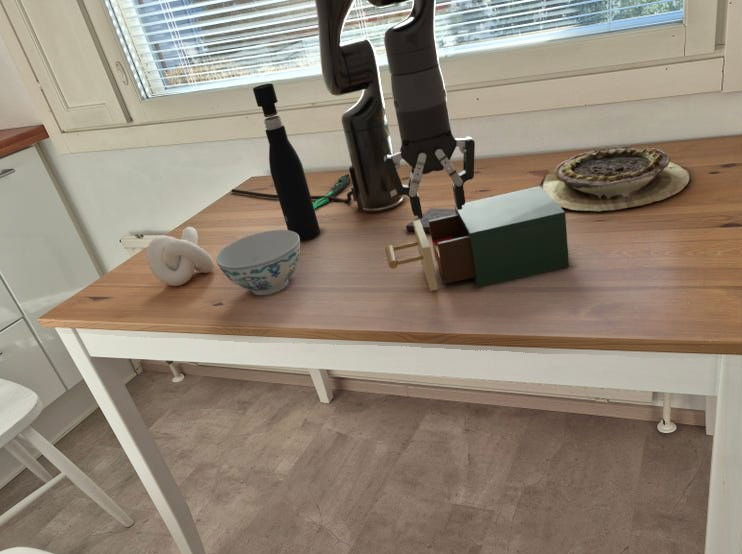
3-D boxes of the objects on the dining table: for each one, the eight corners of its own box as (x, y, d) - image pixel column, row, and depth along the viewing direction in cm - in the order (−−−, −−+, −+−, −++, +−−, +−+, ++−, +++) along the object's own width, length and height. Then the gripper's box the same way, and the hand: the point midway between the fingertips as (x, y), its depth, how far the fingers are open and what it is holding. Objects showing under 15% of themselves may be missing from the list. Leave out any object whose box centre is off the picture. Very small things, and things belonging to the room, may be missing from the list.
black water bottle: (326, 229, 142) (285, 79, 127) (310, 241, 137) (266, 88, 122) (301, 229, 145) (258, 83, 130) (284, 242, 140) (239, 92, 125)
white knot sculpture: (168, 269, 140) (151, 229, 135) (224, 258, 139) (209, 217, 135) (154, 293, 130) (136, 250, 126) (214, 281, 130) (198, 237, 125)
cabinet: (477, 287, 106) (469, 233, 101) (462, 254, 117) (454, 205, 113) (569, 266, 105) (565, 211, 101) (544, 236, 117) (539, 185, 112)
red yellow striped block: (463, 270, 107) (460, 252, 106) (442, 275, 107) (439, 257, 106) (454, 252, 114) (452, 236, 112) (434, 257, 114) (431, 240, 112)
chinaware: (273, 311, 113) (260, 269, 109) (213, 302, 121) (198, 263, 117) (327, 271, 123) (316, 231, 119) (267, 265, 131) (255, 228, 127)
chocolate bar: (430, 208, 137) (509, 212, 127) (431, 212, 138) (510, 216, 127) (405, 225, 131) (486, 231, 121) (406, 230, 132) (487, 236, 122)
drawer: (396, 298, 106) (386, 256, 102) (389, 267, 116) (380, 228, 113) (514, 272, 106) (509, 228, 102) (496, 243, 116) (491, 203, 112)
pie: (702, 160, 133) (703, 134, 130) (669, 214, 114) (669, 186, 112) (565, 163, 148) (563, 140, 145) (516, 211, 129) (513, 186, 127)
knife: (345, 173, 171) (362, 172, 169) (345, 176, 172) (362, 175, 170) (296, 209, 155) (315, 208, 152) (297, 212, 155) (316, 211, 153)
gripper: (464, 86, 100) (479, 195, 109) (370, 108, 100) (392, 215, 109) (474, 95, 94) (489, 210, 103) (373, 118, 94) (397, 231, 103)
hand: (439, 212), depth 106 cm, fingers open, 5 cm apart
